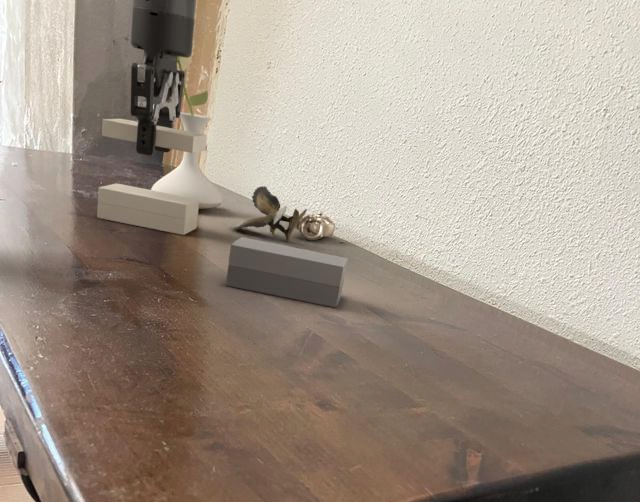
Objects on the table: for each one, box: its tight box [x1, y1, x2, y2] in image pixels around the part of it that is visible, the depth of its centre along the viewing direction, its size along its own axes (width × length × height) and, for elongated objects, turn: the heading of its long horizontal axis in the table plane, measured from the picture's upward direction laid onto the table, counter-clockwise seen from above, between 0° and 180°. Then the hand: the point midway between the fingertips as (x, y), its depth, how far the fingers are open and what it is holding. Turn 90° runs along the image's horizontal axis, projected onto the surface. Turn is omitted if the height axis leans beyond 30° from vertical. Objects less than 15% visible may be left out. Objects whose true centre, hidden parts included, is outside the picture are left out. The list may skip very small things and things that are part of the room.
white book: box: [101, 118, 208, 153], centre depth 98 cm, size 12×6×2 cm, turn 83°
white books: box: [96, 182, 199, 236], centre depth 101 cm, size 12×6×4 cm, turn 83°
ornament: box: [295, 211, 336, 241], centre depth 113 cm, size 8×7×4 cm
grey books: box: [225, 236, 349, 309], centre depth 80 cm, size 12×5×4 cm, turn 83°
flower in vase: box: [150, 39, 223, 210], centre depth 115 cm, size 13×11×25 cm
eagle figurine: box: [233, 185, 308, 243], centre depth 108 cm, size 8×7×9 cm
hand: (153, 152), depth 99 cm, fingers closed on white book, 6 cm apart
